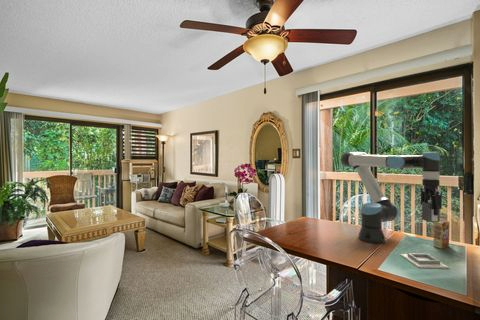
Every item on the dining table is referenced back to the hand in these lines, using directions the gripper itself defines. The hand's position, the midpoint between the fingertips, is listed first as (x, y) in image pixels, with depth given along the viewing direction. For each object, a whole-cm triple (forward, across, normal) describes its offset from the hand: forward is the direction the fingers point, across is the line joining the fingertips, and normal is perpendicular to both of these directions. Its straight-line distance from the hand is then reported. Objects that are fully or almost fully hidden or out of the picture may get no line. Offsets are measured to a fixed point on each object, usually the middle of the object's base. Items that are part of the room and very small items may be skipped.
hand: (430, 219), depth 131 cm
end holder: (+19, -13, +13) cm, 26 cm away
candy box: (+19, +8, -12) cm, 24 cm away
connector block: (+1, 0, 0) cm, 1 cm away
